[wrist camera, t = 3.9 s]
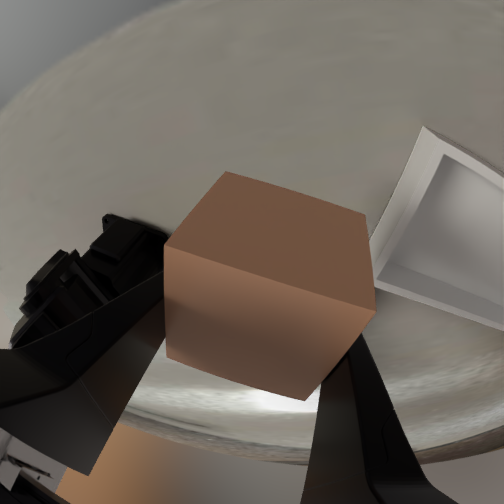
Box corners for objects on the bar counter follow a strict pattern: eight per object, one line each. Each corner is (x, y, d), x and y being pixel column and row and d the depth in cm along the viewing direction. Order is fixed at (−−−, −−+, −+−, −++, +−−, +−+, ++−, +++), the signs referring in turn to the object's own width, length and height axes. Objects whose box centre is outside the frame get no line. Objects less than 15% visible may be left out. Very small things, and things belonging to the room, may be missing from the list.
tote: (504, 310, 20) (513, 334, 17) (361, 255, 20) (363, 283, 18) (565, 223, 13) (583, 245, 11) (422, 125, 14) (438, 138, 12)
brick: (317, 309, 13) (304, 401, 9) (209, 275, 13) (166, 357, 10) (364, 214, 10) (376, 311, 6) (225, 171, 10) (163, 244, 7)
